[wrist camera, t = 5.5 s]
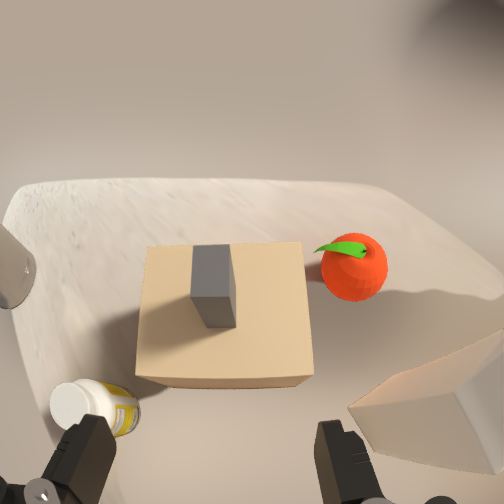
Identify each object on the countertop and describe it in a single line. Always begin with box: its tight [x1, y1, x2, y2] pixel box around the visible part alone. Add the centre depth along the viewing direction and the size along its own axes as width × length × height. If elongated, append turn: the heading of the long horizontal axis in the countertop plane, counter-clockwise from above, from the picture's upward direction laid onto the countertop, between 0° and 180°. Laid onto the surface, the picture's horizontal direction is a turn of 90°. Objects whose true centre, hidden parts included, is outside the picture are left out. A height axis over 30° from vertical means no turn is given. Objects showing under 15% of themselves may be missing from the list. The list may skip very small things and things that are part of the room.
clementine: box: [313, 233, 388, 302], centre depth 31 cm, size 8×7×7 cm
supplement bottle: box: [49, 379, 141, 436], centre depth 23 cm, size 5×5×10 cm
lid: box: [135, 242, 314, 379], centre depth 19 cm, size 12×10×7 cm
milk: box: [348, 329, 504, 475], centre depth 17 cm, size 6×6×22 cm
